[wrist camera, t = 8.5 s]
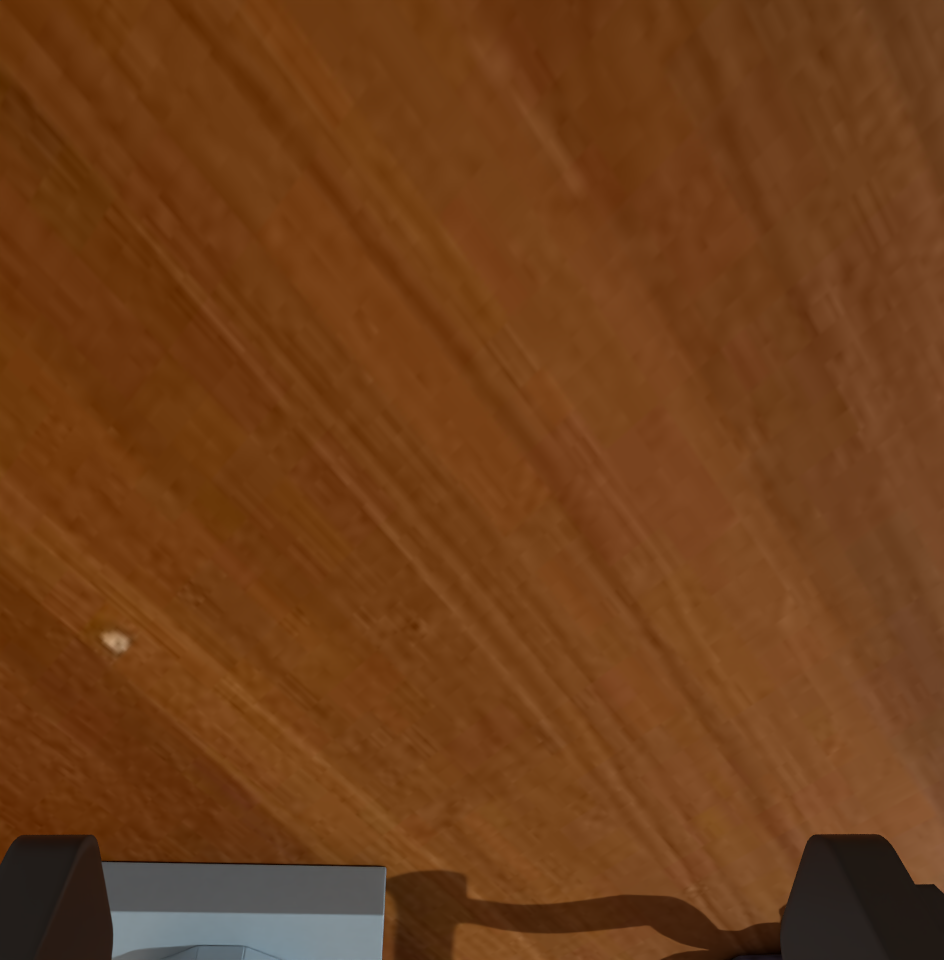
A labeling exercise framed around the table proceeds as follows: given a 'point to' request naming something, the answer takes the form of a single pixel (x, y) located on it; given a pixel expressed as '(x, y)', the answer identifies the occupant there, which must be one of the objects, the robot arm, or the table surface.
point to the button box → (245, 911)
